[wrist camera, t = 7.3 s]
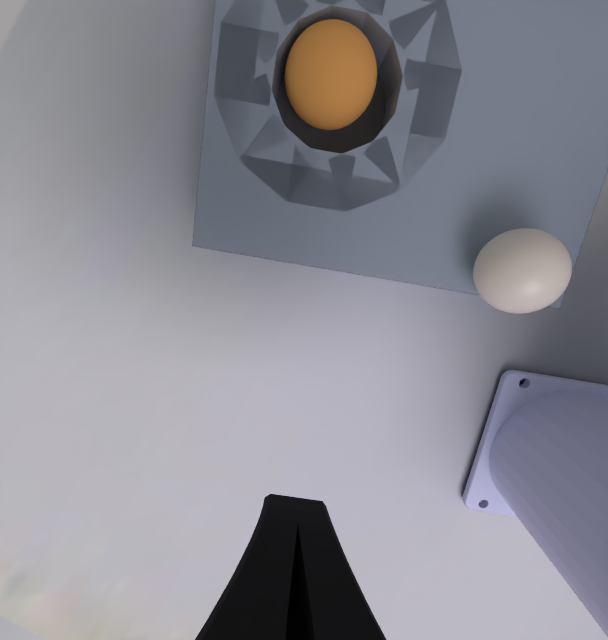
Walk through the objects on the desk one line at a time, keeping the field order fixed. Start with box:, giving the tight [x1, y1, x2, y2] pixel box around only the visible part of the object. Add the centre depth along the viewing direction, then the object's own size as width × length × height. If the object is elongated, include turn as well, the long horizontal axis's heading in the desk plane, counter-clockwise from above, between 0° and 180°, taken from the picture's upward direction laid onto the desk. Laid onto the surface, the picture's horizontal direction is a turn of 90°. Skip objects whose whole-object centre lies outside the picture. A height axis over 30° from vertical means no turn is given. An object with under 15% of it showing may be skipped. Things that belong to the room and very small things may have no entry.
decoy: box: [473, 228, 572, 314], centre depth 13 cm, size 3×3×3 cm
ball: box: [285, 19, 377, 130], centre depth 13 cm, size 3×3×3 cm
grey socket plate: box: [192, 0, 608, 309], centre depth 14 cm, size 15×13×2 cm
